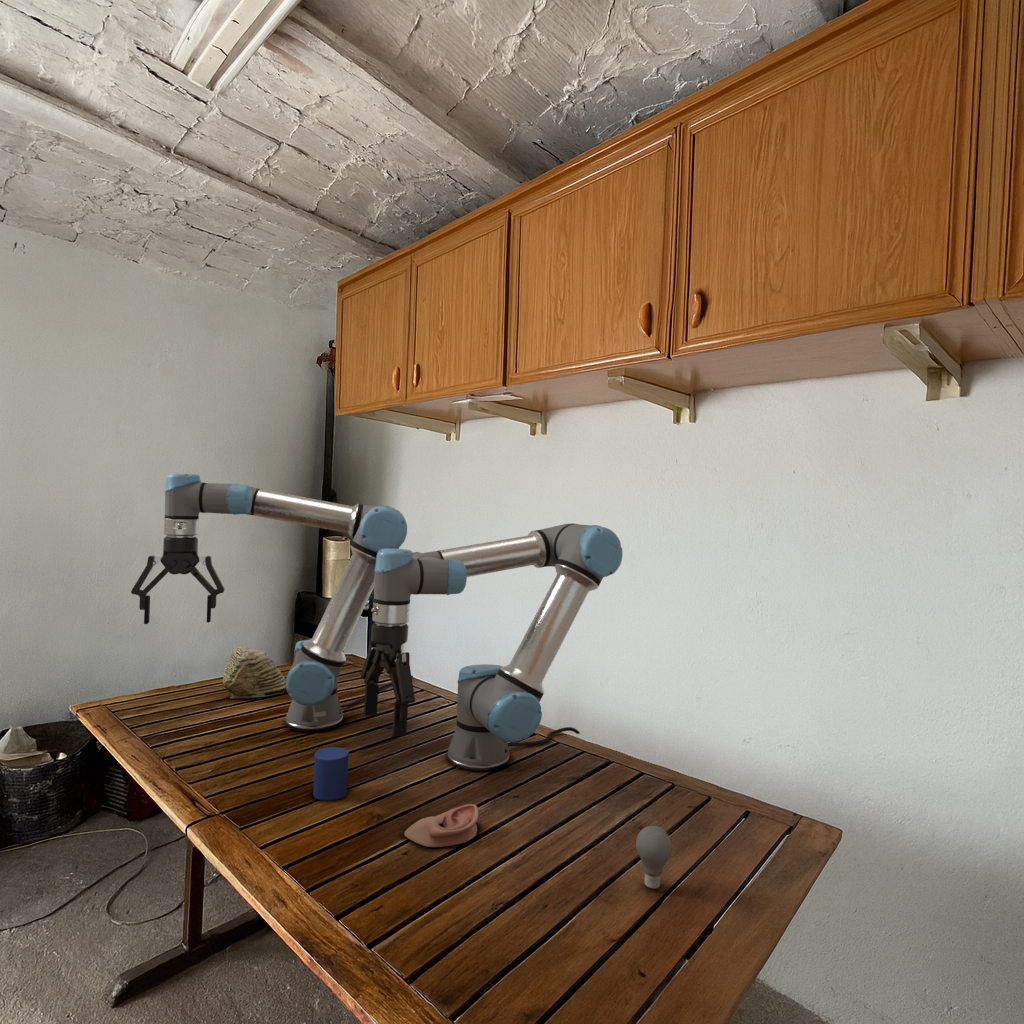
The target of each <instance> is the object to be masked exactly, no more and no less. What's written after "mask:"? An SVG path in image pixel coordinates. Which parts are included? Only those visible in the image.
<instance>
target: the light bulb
mask: <svg viewBox="0 0 1024 1024" xmlns="http://www.w3.org/2000/svg"><path fill="white" fill-rule="evenodd" d="M635 848H636V849H635V850H636V852H637V854H638V857H639V858H640V860H641V863H642V869H643V872H644V879H643V880H644V885H645V886H647V887H648V888H650V889H658V888H660V886H661V875H662V874H663V871H664V867H665V866H666V863H668V861H669V860H670V858H671V855H672V852H673V842H672V840H671V838H670V836H669V834H668V832H666V831H665V829H663V828H662V827H660V826H657V825H648V826H645V827H643V828H642V829H641V830H640V831H639V832H638V833H637V835H636V839H635Z"/></svg>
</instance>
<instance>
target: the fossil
mask: <svg viewBox="0 0 1024 1024" xmlns="http://www.w3.org/2000/svg"><path fill="white" fill-rule="evenodd" d="M222 676H223V677H222V685H223V687H224V688H225V690H226V691H228V693H229V698H230V699H250V698H264V697H271V696H275V695H281V694H284V693H285V691H287V689H286V677H285V676H284V674H283V673H282V672H281V669H279V668H278V667H277V665H276V663H275V662H274V660H273V659H272V658H271V657H270V656H269V655H268V654H267V653H266V652H265V650H264V649H263V648H260V647H258V648H251V647H247V646H246V647H245V646H238V647H237V648H236V649H235V650H233V651H232V653H231V656H230V657H229V659H228V660H227V663H226V666H225V668H224V671H223V675H222Z"/></svg>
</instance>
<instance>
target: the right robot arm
mask: <svg viewBox="0 0 1024 1024" xmlns="http://www.w3.org/2000/svg"><path fill="white" fill-rule="evenodd" d="M622 560H623V547H622V544H621V540H620V538H619V537H618V536H617V533H615V532H614V531H613V530H612V529H610V528H608V527H604V526H601V525H598V524H579V523H564V524H558V525H554V526H549V527H546V528H541V529H536V530H531V531H530V532H528V534H527V535H523V536H518V537H512V538H506V539H500V540H493V541H487V542H482V543H481V542H480V543H475V544H470V545H463V546H457V547H449V548H444V549H440V550H433V551H427V552H419V551H415V552H413V551H412V550H410V549H406V548H399V549H394V548H386V549H381V550H379V551H378V553H377V558H376V565H375V570H374V572H375V582H374V588H373V604H372V608H371V613H372V618H371V619H372V621H373V623H372V624H371V630H370V631H371V632H370V640H369V643H368V650H367V653H366V657H365V660H364V663H363V666H362V670H361V674H360V679H361V680H363V683H364V685H365V687H364V696H365V699H364V705H363V716H364V717H369V716H377V715H378V702H379V701H378V700H379V690H378V687H380V684H378V683H380V680H379V679H380V677H381V675H382V673H383V671H384V670H385V671H386V674H387V675H389V678H390V682H392V685H391V686H392V689H393V693H394V697H395V701H394V703H393V716H392V719H393V720H392V730H391V731H392V734H391V736H392V737H393V738H396V737H397V738H398V737H401V736H402V737H403V736H406V735H407V727H408V714H409V713H408V711H409V704H413V703H415V702H416V696H415V691H414V684H413V683H414V682H413V678H412V677H411V675H412V672H411V664H410V660H411V659H410V657H411V655H410V652H408V651H407V652H402V646H403V645H404V644H406V643H407V642H408V639H409V625H408V624H407V623H409V621H410V611H411V610H410V609H411V608H410V606H411V595H413V596H414V595H416V596H417V595H446V596H449V595H459V594H461V593H463V592H464V590H465V588H466V586H467V580H468V578H469V577H470V578H471V577H476V576H481V575H486V574H492V573H497V572H503V571H507V570H513V569H519V568H525V567H530V566H533V567H535V568H537V569H540V568H547V567H552V568H553V567H554V569H555V573H556V575H555V578H554V579H553V580H552V583H551V585H550V586H549V589H548V591H547V592H546V595H545V596H544V598H543V600H542V602H541V604H540V606H539V607H538V610H537V611H536V613H535V615H534V617H533V619H532V621H531V622H530V625H529V627H528V628H527V630H526V632H525V634H524V636H523V638H522V640H521V642H520V644H519V646H518V647H517V649H516V651H515V653H514V655H513V656H512V659H511V661H510V663H508V664H507V665H504V666H503V665H500V664H485V663H484V664H471V665H470V664H469V665H466V666H463V667H461V668H460V669H459V672H458V679H457V703H456V727H455V730H454V733H453V736H451V737H450V738H449V743H450V744H449V746H448V749H447V760H448V762H449V763H450V764H451V765H452V766H454V767H456V768H459V769H462V770H466V771H473V772H486V771H487V772H488V771H494V770H497V769H501V768H503V767H505V766H506V765H508V763H509V762H510V749H509V748H510V747H528V746H537V745H542V744H543V745H544V744H546V743H548V742H549V741H550V739H551V737H552V736H554V735H558V734H560V733H563V732H573V733H575V734H576V735H580V734H581V732H580V731H579V730H578V729H577V728H575V727H571V726H570V727H569V726H566V727H561V728H558V729H555V730H553V731H550V732H548V733H547V735H546V737H545V738H543V739H540V740H534V741H532V740H531V741H524V740H527V739H528V738H530V737H531V736H532V735H533V734H534V733H535V732H536V731H537V729H538V728H539V726H540V724H541V721H542V718H543V717H542V715H543V712H542V706H541V703H540V702H541V701H542V698H543V696H544V695H545V690H544V686H543V682H544V680H545V678H546V677H547V674H548V672H549V670H550V668H551V667H552V664H553V662H554V661H555V658H556V656H557V655H558V653H559V651H560V649H561V647H562V645H563V643H564V641H565V639H566V637H567V635H568V633H569V631H570V629H571V627H572V625H573V623H574V621H575V619H576V617H577V616H578V613H579V612H580V610H581V608H582V605H583V604H584V602H585V600H586V598H587V596H588V594H589V592H592V591H595V590H598V588H599V587H600V585H601V583H602V581H603V579H604V578H606V577H609V576H611V575H614V574H615V573H616V572H617V571H618V570H619V568H620V566H621V564H622Z"/></svg>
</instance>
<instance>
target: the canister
mask: <svg viewBox="0 0 1024 1024" xmlns="http://www.w3.org/2000/svg"><path fill="white" fill-rule="evenodd" d="M313 763H314V766H313V791H312V792H313V793H312V795H313V797H314V798H315V799H317V800H319V801H325V802H327V801H329V802H330V801H336V800H339V799H341V798H344V797H345V796H346V795H347V793H348V777H349V776H348V775H349V774H348V773H349V750H348V749H346V748H344V747H339V746H330V747H324V748H321V749H318V750H316V752H315V753H314V762H313Z"/></svg>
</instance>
